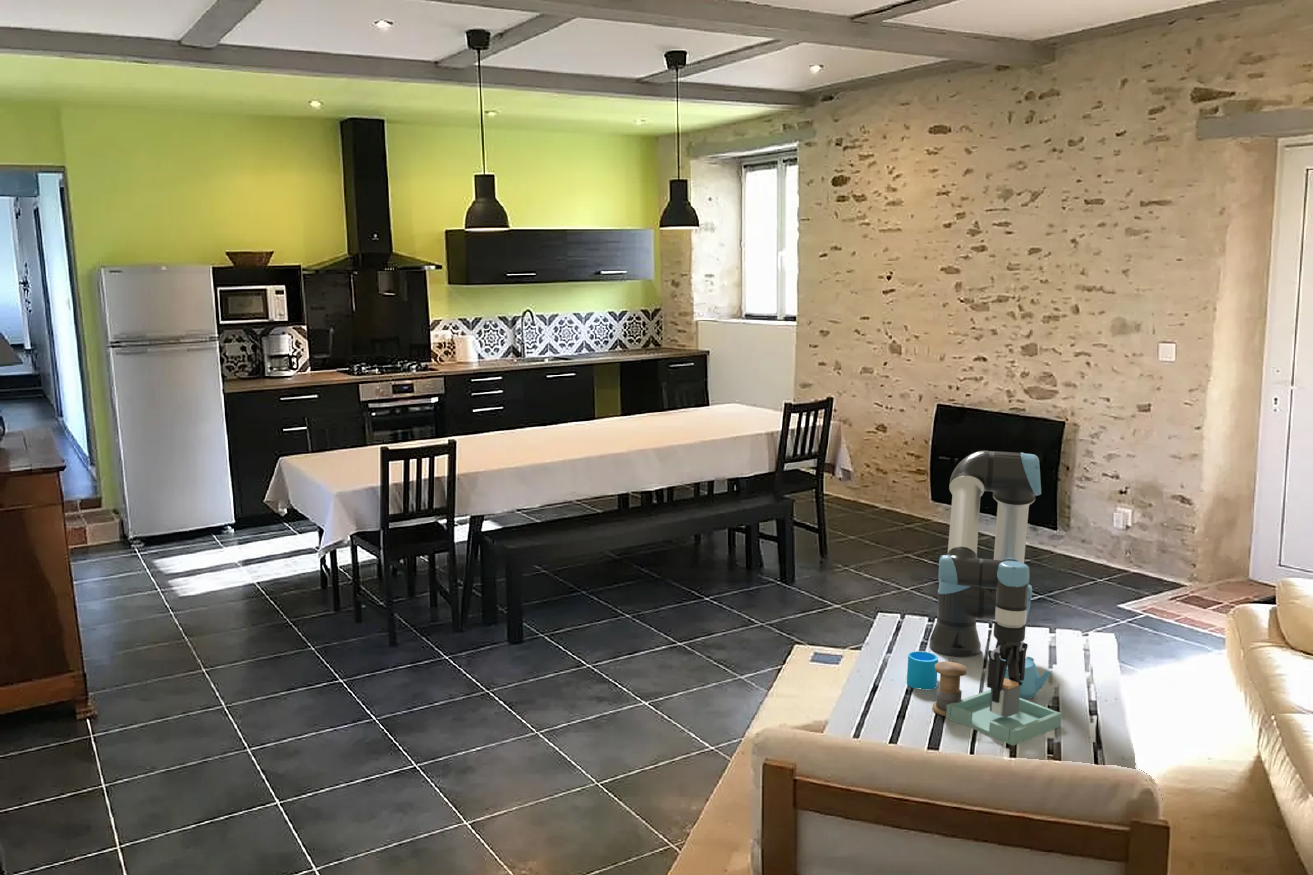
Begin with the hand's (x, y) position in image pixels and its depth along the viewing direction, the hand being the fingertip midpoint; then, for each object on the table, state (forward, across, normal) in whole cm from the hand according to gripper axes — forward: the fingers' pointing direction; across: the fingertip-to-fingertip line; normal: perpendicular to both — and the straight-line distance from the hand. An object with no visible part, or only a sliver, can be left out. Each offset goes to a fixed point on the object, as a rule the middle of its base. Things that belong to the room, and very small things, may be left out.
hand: (1003, 710), depth 268 cm
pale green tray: (+3, 0, 0) cm, 3 cm away
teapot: (+3, -18, -8) cm, 20 cm away
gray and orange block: (0, 0, 0) cm, 0 cm away
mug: (+3, -5, -29) cm, 30 cm away
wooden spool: (+3, +6, -12) cm, 14 cm away
